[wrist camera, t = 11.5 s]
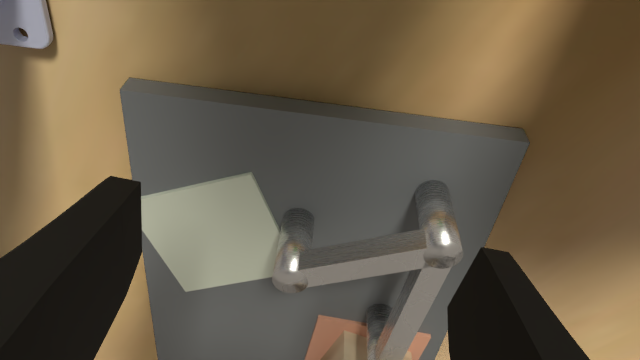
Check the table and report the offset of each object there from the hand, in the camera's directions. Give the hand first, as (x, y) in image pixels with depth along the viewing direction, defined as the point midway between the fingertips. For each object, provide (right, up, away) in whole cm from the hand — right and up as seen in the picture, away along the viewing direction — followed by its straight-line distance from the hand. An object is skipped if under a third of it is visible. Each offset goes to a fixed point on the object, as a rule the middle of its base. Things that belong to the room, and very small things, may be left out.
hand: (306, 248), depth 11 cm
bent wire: (+2, -2, +13) cm, 13 cm away
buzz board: (0, -3, +15) cm, 15 cm away
